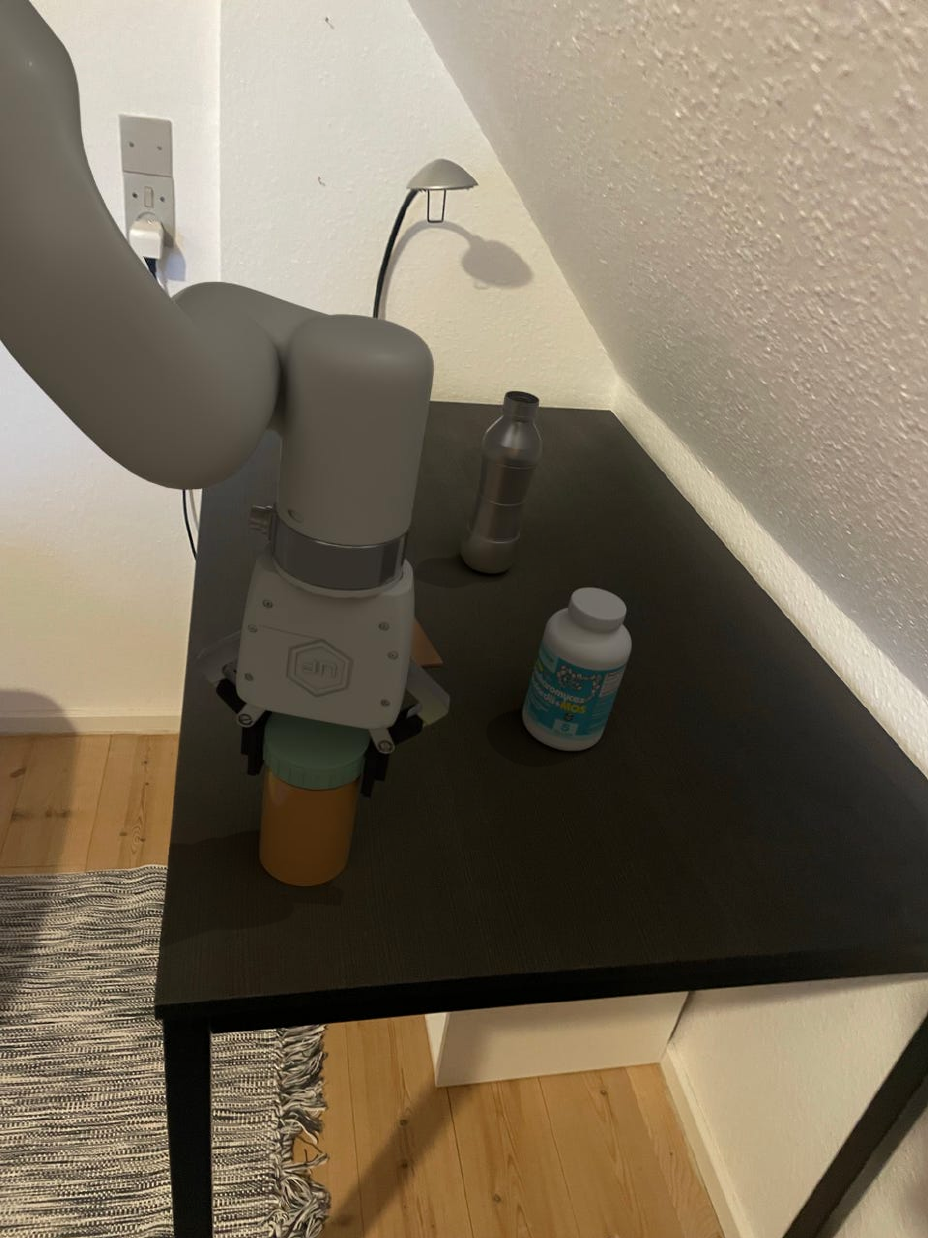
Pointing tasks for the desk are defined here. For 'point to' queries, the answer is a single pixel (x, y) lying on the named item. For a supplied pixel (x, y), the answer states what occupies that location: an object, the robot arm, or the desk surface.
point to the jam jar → (306, 830)
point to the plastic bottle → (503, 485)
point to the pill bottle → (578, 671)
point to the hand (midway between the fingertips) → (314, 771)
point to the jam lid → (313, 751)
